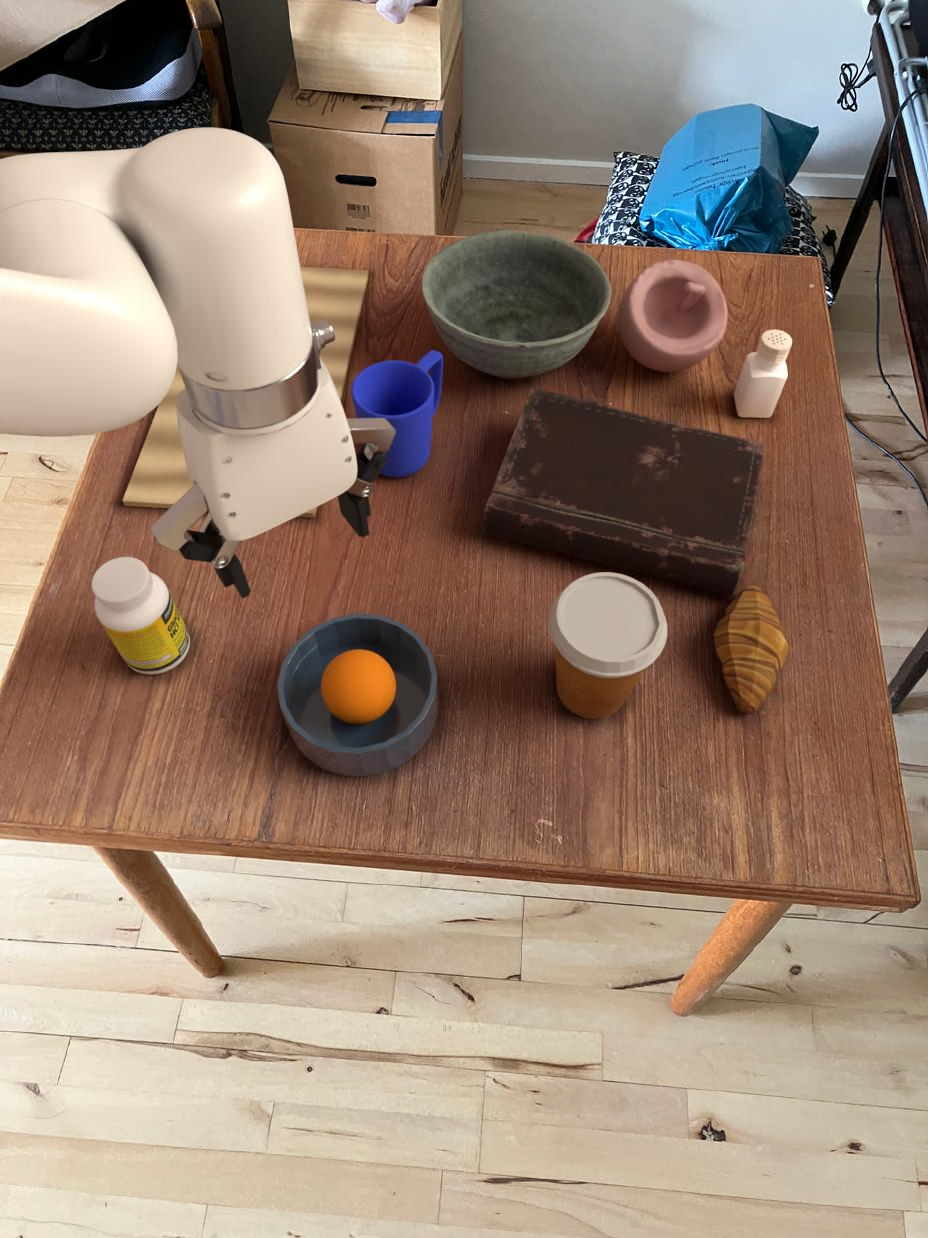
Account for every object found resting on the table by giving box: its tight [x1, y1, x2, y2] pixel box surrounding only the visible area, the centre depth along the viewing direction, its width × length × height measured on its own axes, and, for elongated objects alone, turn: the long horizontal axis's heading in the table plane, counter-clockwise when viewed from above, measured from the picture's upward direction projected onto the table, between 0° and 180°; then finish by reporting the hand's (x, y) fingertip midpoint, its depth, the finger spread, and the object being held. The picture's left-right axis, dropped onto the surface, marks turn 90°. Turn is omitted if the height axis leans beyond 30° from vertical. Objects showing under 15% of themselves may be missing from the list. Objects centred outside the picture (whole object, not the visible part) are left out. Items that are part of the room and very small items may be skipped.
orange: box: [321, 649, 396, 724], centre depth 75 cm, size 6×6×6 cm
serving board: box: [122, 266, 369, 519], centre depth 101 cm, size 40×20×1 cm, turn 175°
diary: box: [481, 387, 766, 597], centre depth 90 cm, size 19×25×5 cm
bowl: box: [421, 230, 612, 380], centre depth 100 cm, size 21×21×10 cm
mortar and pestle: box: [617, 258, 729, 373], centre depth 99 cm, size 12×12×11 cm
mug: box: [350, 349, 444, 479], centre depth 92 cm, size 8×12×10 cm
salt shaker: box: [733, 328, 793, 419], centre depth 95 cm, size 4×4×10 cm
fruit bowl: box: [276, 613, 439, 778], centre depth 77 cm, size 13×13×5 cm
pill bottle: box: [91, 556, 191, 675], centre depth 77 cm, size 6×6×11 cm
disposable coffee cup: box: [548, 571, 668, 720], centre depth 75 cm, size 10×10×12 cm
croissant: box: [713, 585, 790, 715], centre depth 80 cm, size 14×7×5 cm, turn 168°
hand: (297, 552), depth 64 cm, fingers open, 9 cm apart
